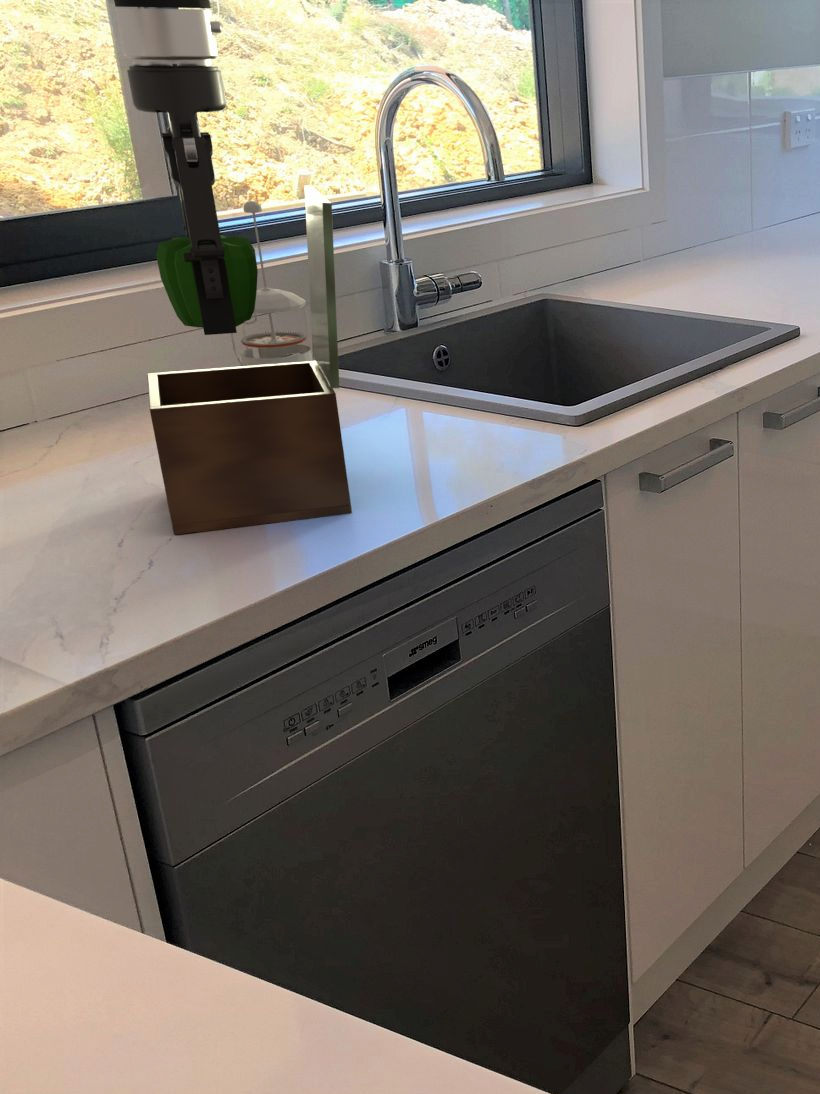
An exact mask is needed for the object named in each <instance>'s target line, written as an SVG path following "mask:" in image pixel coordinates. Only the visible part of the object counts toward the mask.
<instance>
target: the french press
mask: <svg viewBox="0 0 820 1094" xmlns="http://www.w3.org/2000/svg"><path fill="white" fill-rule="evenodd" d="M242 209H243V212H244V213H248V214H252V220H253V225H254V232H255V239H256V244H257V250H258V256H259V262H260V268H261V269H260V270H261V275H262V280H263V281H262V282H263V287H260V289H257V293H256V302H255V310H254V312H253V316H254V320H253V321H245V322H244V323H243V326H242V335H243V337H242V338H241V339H240V343H241V345H243V346H244V347H245V348H246V349H244V350H242V351H240V355H239V353H238V350H237V347H236V345H235V338H234V333H230V339H231V343H232V350H233V351H234V354H235V357H236V359H237V362H238V363H239V365H240V366H252V365H265V364H278V363H291V362H304V361H314V360H313V359H314V358H313V352H312V348H311V346H308V345H306V344H301V343H304V342H305V341H306V340H307V335H306V334H305V333H302V332H299V331H297V332H296V331H289V330H288V331H286V330H285V332H284V331H278V330H276V331H275V329H274V323H273V318H272V314H275V313H277V314H278V313H284V312H291V311H295V310H296V311H297V310H299V309H302V308H304V307H305V305H306V300H305V299H304V298H302V297H301V296H299V295H297V294H295V293H293V292H291V291H288V290H283V289H279V288H272V287H268V286H267V280H266V274H265V268H264V263H263V262H264V261H263V256H262V251H261V250H262V249H261V244H260V238H259V237H260V236H259V232H258V231H259V230H258V225H257V219H256V213H262V212H263V209H262V205H261V204H260V203H259V202H258V201H253V200H250V201H247V202H246V203H244V205H243V208H242ZM257 314H268V318H269V324H270V332H269V331H267V332H266V331H264V332H256V333H252V334H248V335H247V334H246V333H247V332H246V327H247V326H246V325H248V326H249V325H253V324H255V323H256V322H257V320H258V318H257V316H258V315H257ZM253 348H257V350H258V357H254V351H253ZM292 354H296V355H292ZM288 355H291V356H288Z"/></svg>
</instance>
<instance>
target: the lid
mask: <svg viewBox="0 0 820 1094" xmlns="http://www.w3.org/2000/svg"><path fill="white" fill-rule="evenodd" d="M304 205H305V206H304V207H305V226H306V227H305V228H306V243H307V244H306V245H307V247H306V249H307V264H308V267H307V268H308V284H309V285H308V286H309V287H308V288H309V307H310V327H311V328H310V329H311V347H312V348H311V351H312V358H313V359H314V361H316V362H317V364H318V366H319V368H320V369H321V371H322V373H323V375H324V377H325V378H326V380H327V382H328V384H329V386H330V388H333V389H340V368H339V346H338V343H339V342H338V323H337V322H338V321H337V320H338V319H337V297H336V276H335V275H336V274H335V271H336V270H335V253H334V252H335V247H334V227H333V226H334V225H333V223H334V222H333V206H332V205H333V204H332V202H331V201H329V199H327V198H326V196H324V195H323V194H322V193H321V192H320V190H318V189H316V187H315V186H313V185H307V184H305V185H304Z"/></svg>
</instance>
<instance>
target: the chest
mask: <svg viewBox="0 0 820 1094" xmlns="http://www.w3.org/2000/svg"><path fill="white" fill-rule="evenodd" d="M146 376H147V390H148V403H149V404H148V406H149V414H150V418H151V419H150V420H151V424H152V430H153V435H154V439H155V445H156V450H157V455H158V460H159V465H160V470H161V475H162V480H163V485H164V486H163V487H164V491H165V496H166V501H167V502H166V503H167V507H168V511H169V517H170V522H171V523H170V524H171V528H172V533H173V535H175V536H176V535H184V534H194V533H202V532H210V531H217V530H218V531H219V530H226V529H227V530H228V529H235V528H243V527H249V526H250V527H251V526H259V525H260V526H261V525H266V524H267V525H268V524H275V523H284V522H292V521H301V520H309V519H319V518H327V517H333V516H342V515H343V516H344V515H350V514H353V511H352V510H353V509H352V505H351V504H352V503H351V495H350V487H349V480H348V473H347V466H346V459H345V450H344V445H343V444H344V443H343V436H342V429H341V421H340V415H339V414H340V413H339V407H338V399H337V393H336V392H335V390H334V388H330V386H329V384H328V382H327V380H326V378H325V377H324V375H323V373H322V371H321V369H320V368H319V366H318V364H317V362H316V360H313V361H304V362H291V363H278V364H265V365H252V366H241V365H240V366H228V367H214V368H213V367H212V368H203V369H202V368H201V369H190V370H189V369H187V370H176V371H163V372H162V371H161V372H149V373H146Z"/></svg>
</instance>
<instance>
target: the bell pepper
mask: <svg viewBox="0 0 820 1094" xmlns="http://www.w3.org/2000/svg"><path fill="white" fill-rule="evenodd" d="M220 236H221V242H222V245H223V246H224V249H225V251H224V257H223V259H225V264H226V270H227V276H228V282H229V288H230V294H231V300H232V306H233V313H234V319H235V325H236V328H237V327H238V326H240V325H244V322H245V321H246V322H249V321H250V320H251V319H252V318H253V316H254V313H253V312H254V310H255V302H256V293H257V290H258V277H259V276H258V275H259V274H258V273H259V272H258V271H259V269H258V264H257V262H258V261H257V255H256V249H255V248H254V246H253V244H252V243H251V241H250V240H249V238H248V237H241V236H229V237H228V236H225V235H224V234H223V235H220ZM199 243H201V242H199ZM190 247H191V243H190V238H189V237H186V236H185V235H184V236H183V235H182V236H177V237H173V238H171V239H170V240H167V241H163V242H159V243H158V247H157V252H156V261H157V266H158V271H159V277H160V279H161V282H162V285H163V287H164V289H165V292H166V295H167V297H168V300H169V302H170V304H171V307H172V308H173V311H174V312H175V315H176V317H177V318H178V320H179V321H180V322H181V323H182V325H184V326H185V327H190V328H191V327H192V328H202V329H203V323H202V318H201V312H200V306H199V300H198V295H197V289H196V283H195V277H194V272H193V266H192V262H185V261H184V255H183V253H190V252H191V250H190Z"/></svg>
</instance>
